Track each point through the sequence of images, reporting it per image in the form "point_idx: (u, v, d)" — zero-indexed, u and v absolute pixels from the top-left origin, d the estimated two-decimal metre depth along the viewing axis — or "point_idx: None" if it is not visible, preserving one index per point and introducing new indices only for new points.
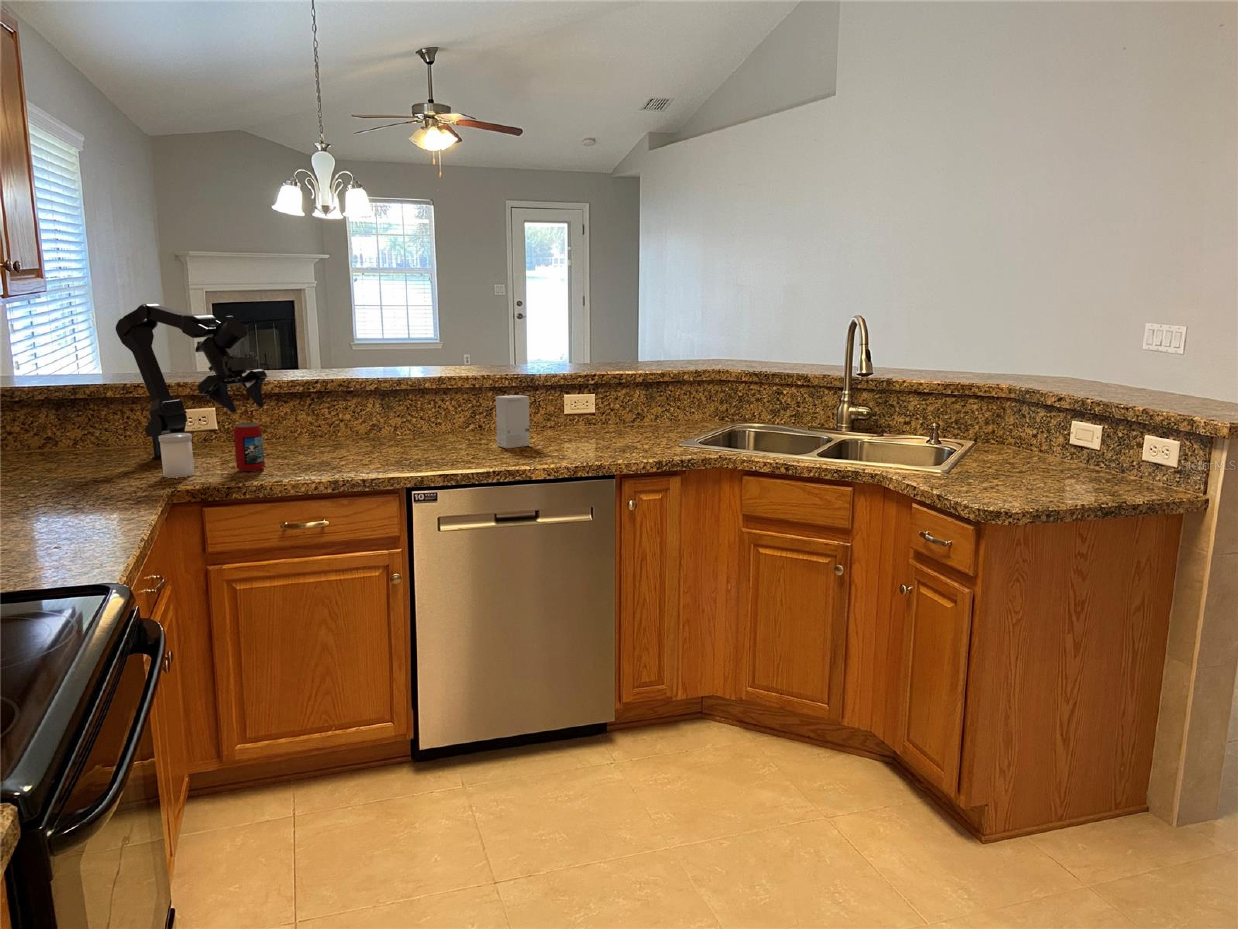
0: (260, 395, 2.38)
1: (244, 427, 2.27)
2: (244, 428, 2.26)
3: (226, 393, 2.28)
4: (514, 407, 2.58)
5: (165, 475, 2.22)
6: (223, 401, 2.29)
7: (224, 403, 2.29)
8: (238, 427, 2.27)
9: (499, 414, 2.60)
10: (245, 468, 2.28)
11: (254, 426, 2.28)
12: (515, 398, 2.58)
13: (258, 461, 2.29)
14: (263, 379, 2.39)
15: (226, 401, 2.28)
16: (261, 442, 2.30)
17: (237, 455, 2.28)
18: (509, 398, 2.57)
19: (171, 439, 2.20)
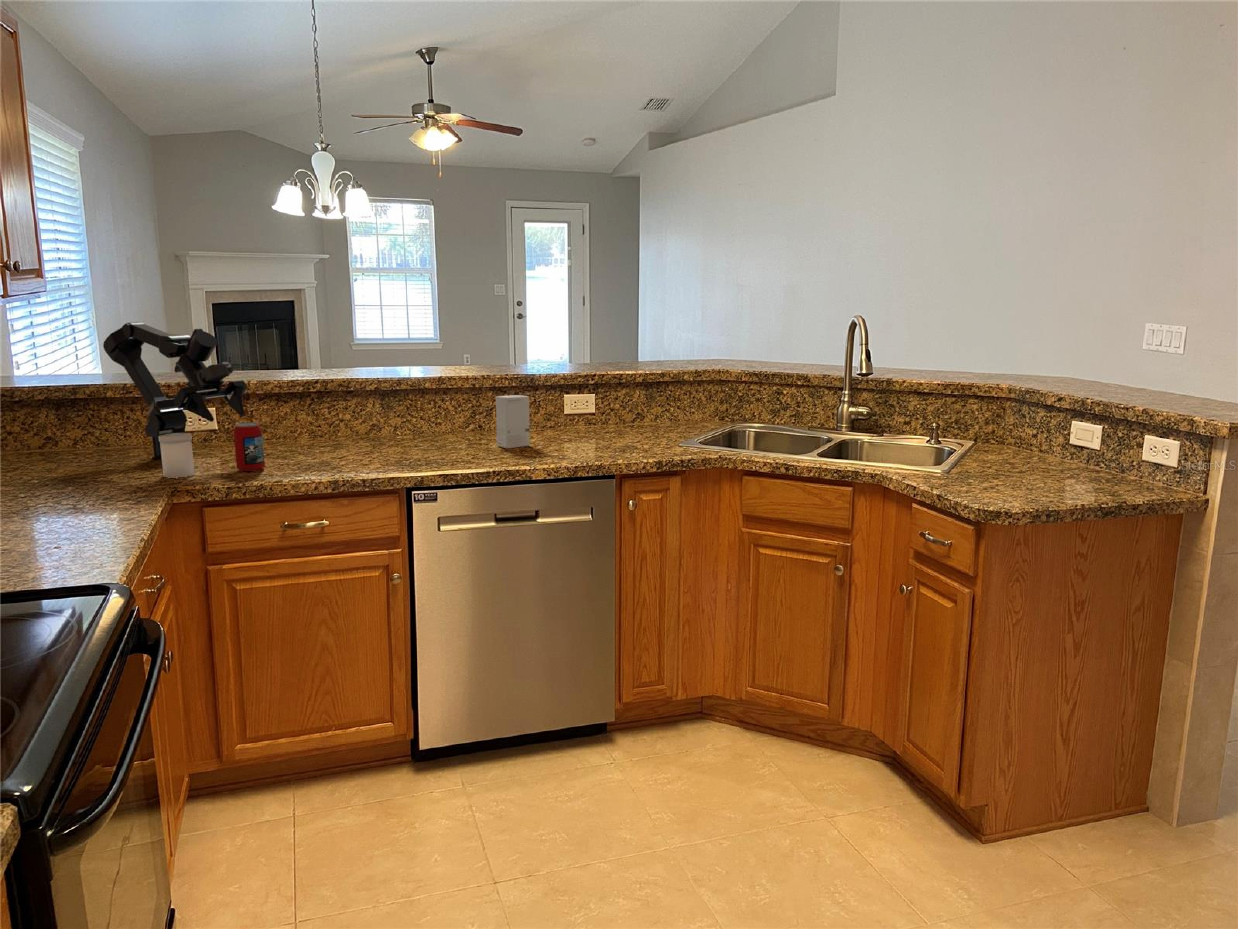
0: (240, 404, 2.37)
1: (244, 427, 2.27)
2: (244, 428, 2.26)
3: (201, 402, 2.28)
4: (514, 407, 2.58)
5: (165, 475, 2.22)
6: (200, 411, 2.28)
7: (201, 413, 2.28)
8: (238, 427, 2.27)
9: (499, 414, 2.60)
10: (245, 468, 2.28)
11: (254, 426, 2.28)
12: (515, 398, 2.58)
13: (258, 461, 2.29)
14: (242, 388, 2.38)
15: (202, 410, 2.28)
16: (261, 442, 2.30)
17: (237, 455, 2.28)
18: (509, 398, 2.57)
19: (171, 439, 2.20)
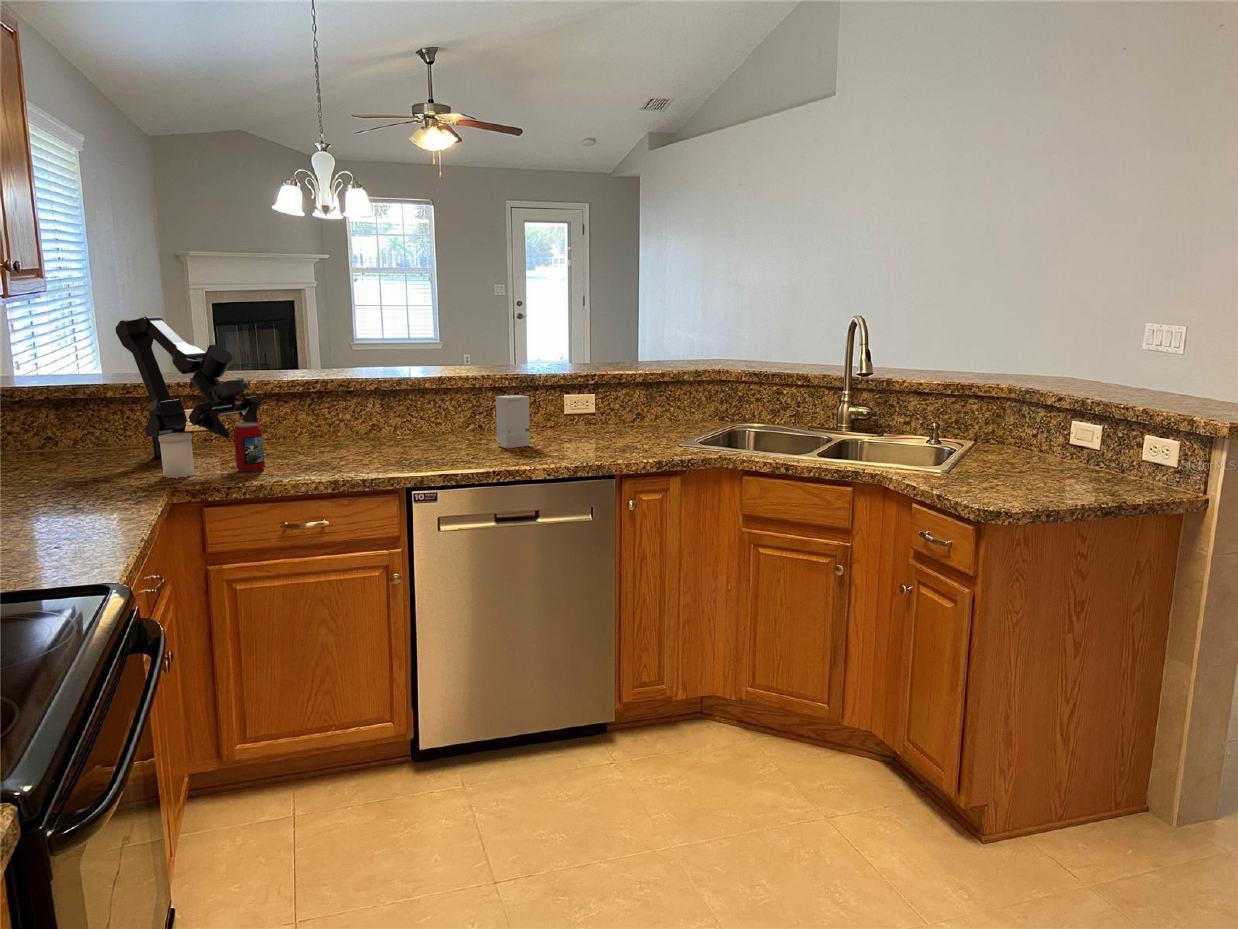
0: (255, 420, 2.35)
1: (244, 427, 2.27)
2: (244, 428, 2.26)
3: (217, 419, 2.26)
4: (514, 407, 2.58)
5: (165, 475, 2.22)
6: (215, 428, 2.27)
7: (216, 430, 2.27)
8: (238, 427, 2.27)
9: (499, 414, 2.60)
10: (245, 468, 2.28)
11: (254, 426, 2.28)
12: (515, 398, 2.58)
13: (258, 461, 2.29)
14: (257, 404, 2.36)
15: (218, 427, 2.26)
16: (261, 442, 2.30)
17: (237, 455, 2.28)
18: (509, 398, 2.57)
19: (171, 439, 2.20)
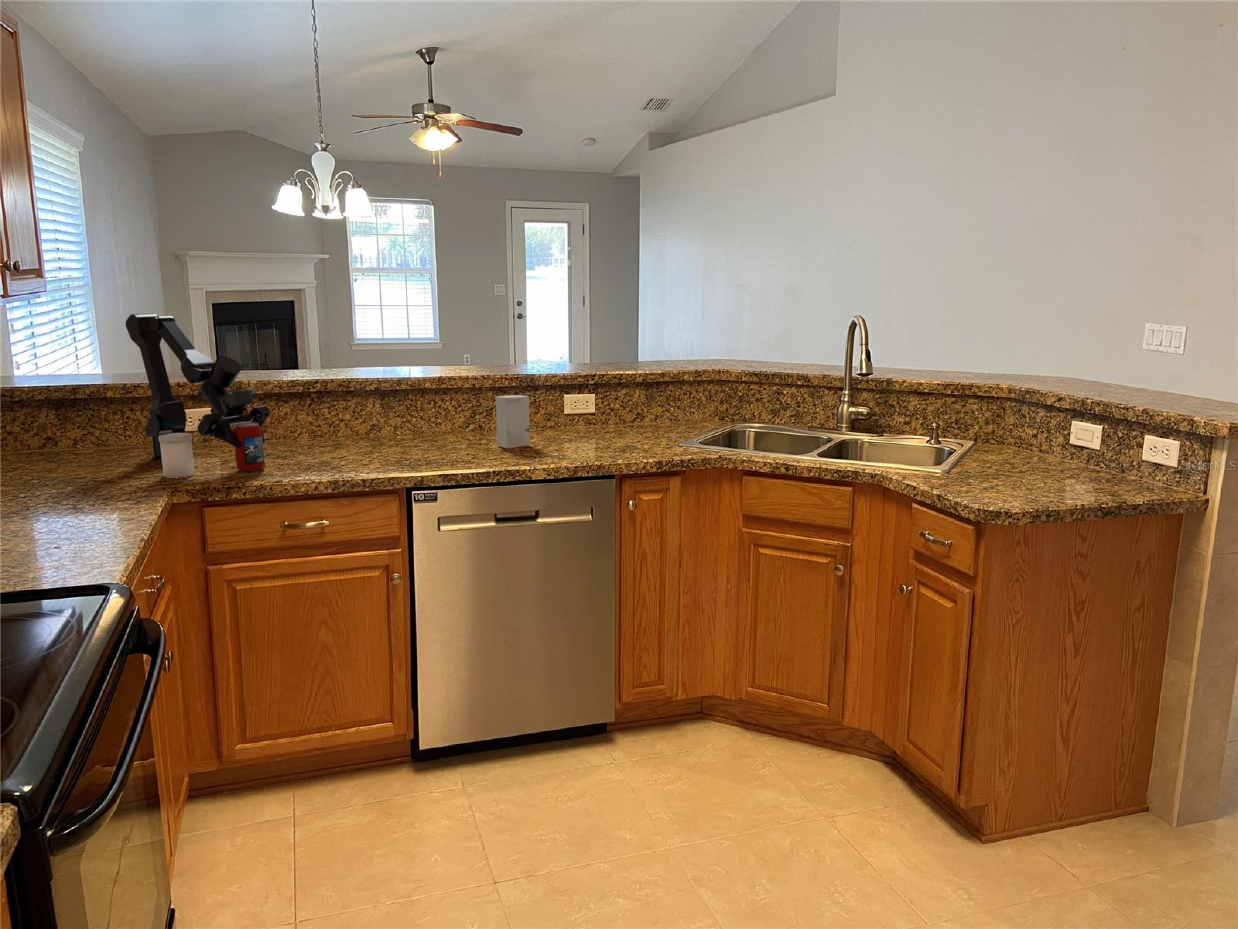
0: None
1: (244, 427, 2.27)
2: (244, 428, 2.26)
3: (229, 429, 2.26)
4: (514, 407, 2.58)
5: (165, 475, 2.22)
6: (228, 438, 2.27)
7: (229, 440, 2.27)
8: (238, 427, 2.27)
9: (499, 414, 2.60)
10: (245, 468, 2.28)
11: (254, 426, 2.28)
12: (515, 398, 2.58)
13: (258, 461, 2.29)
14: (262, 415, 2.34)
15: (230, 437, 2.26)
16: (261, 442, 2.30)
17: (237, 455, 2.28)
18: (509, 398, 2.57)
19: (171, 439, 2.20)
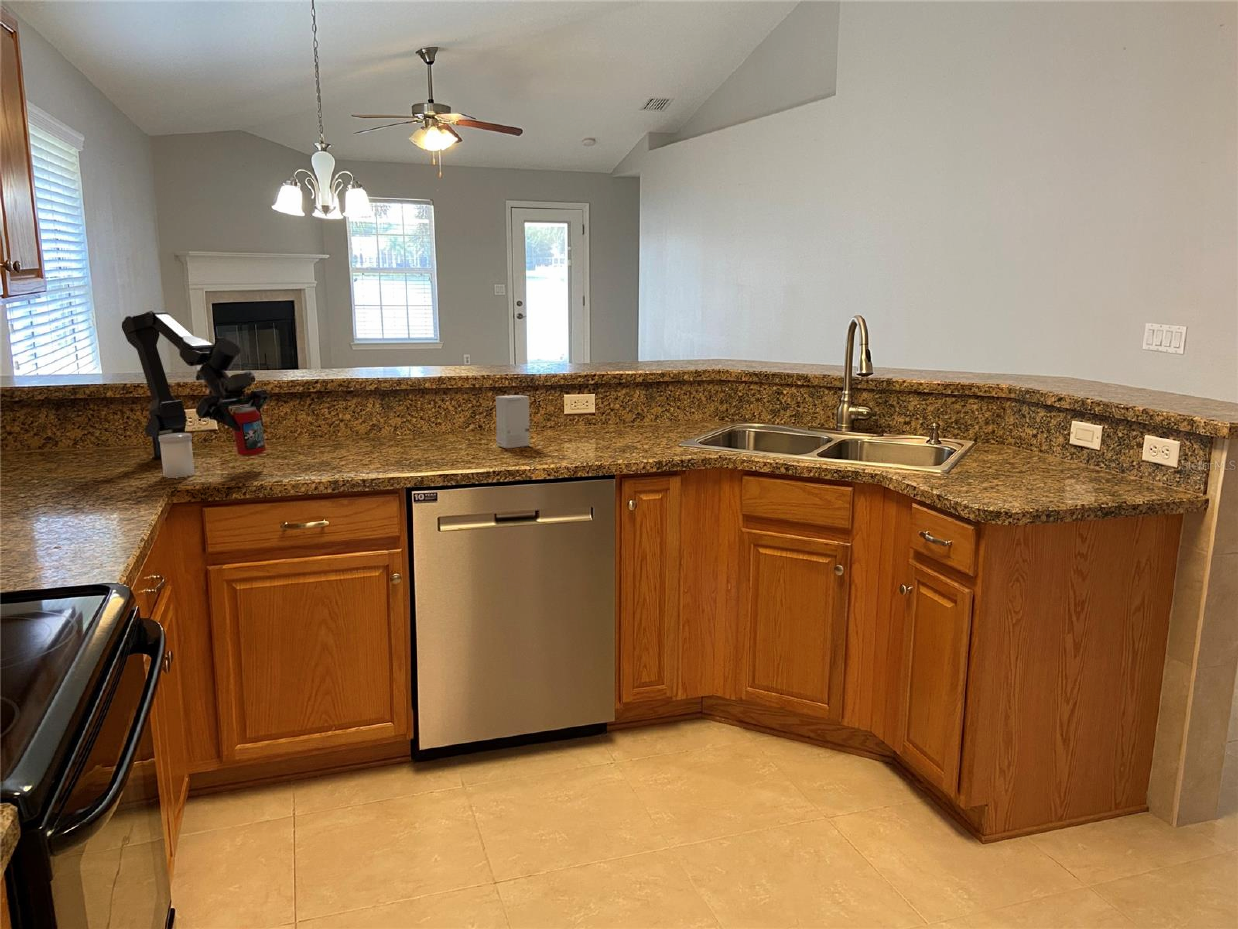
0: None
1: (242, 413, 2.26)
2: (242, 414, 2.26)
3: (228, 412, 2.25)
4: (514, 407, 2.58)
5: (165, 475, 2.22)
6: (226, 421, 2.26)
7: (227, 423, 2.26)
8: (236, 413, 2.26)
9: (499, 414, 2.60)
10: (246, 453, 2.28)
11: (252, 411, 2.27)
12: (515, 398, 2.58)
13: (258, 445, 2.29)
14: (261, 398, 2.34)
15: (228, 420, 2.25)
16: (260, 426, 2.29)
17: (237, 441, 2.28)
18: (509, 398, 2.57)
19: (171, 439, 2.20)
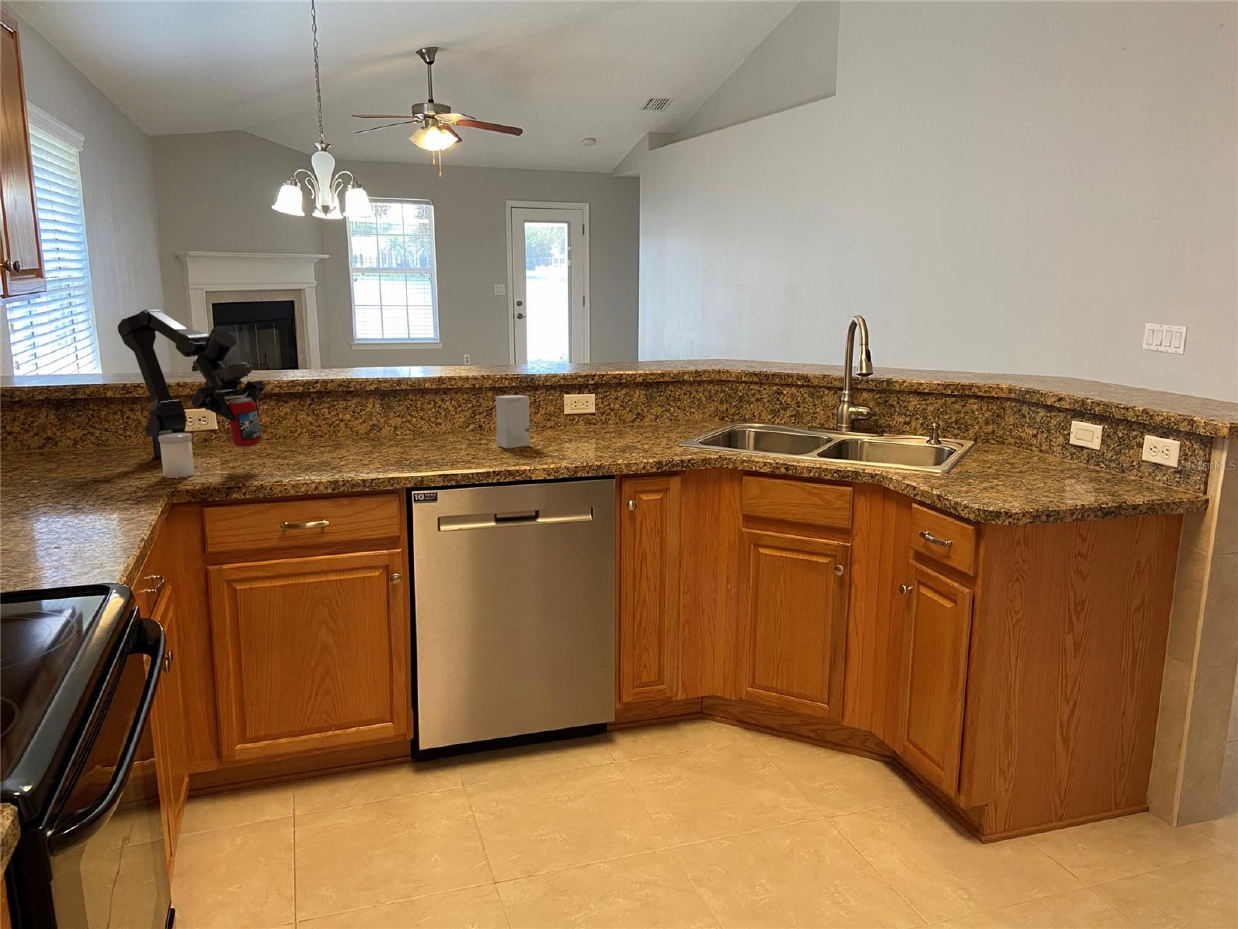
0: None
1: (237, 403, 2.26)
2: (238, 404, 2.26)
3: (224, 402, 2.25)
4: (514, 407, 2.58)
5: (165, 475, 2.22)
6: (222, 411, 2.26)
7: (223, 413, 2.26)
8: (231, 403, 2.26)
9: (499, 414, 2.60)
10: (242, 444, 2.28)
11: (247, 401, 2.27)
12: (515, 398, 2.58)
13: (254, 436, 2.29)
14: (257, 389, 2.34)
15: (224, 411, 2.25)
16: (256, 417, 2.29)
17: (233, 431, 2.28)
18: (509, 398, 2.57)
19: (171, 439, 2.20)
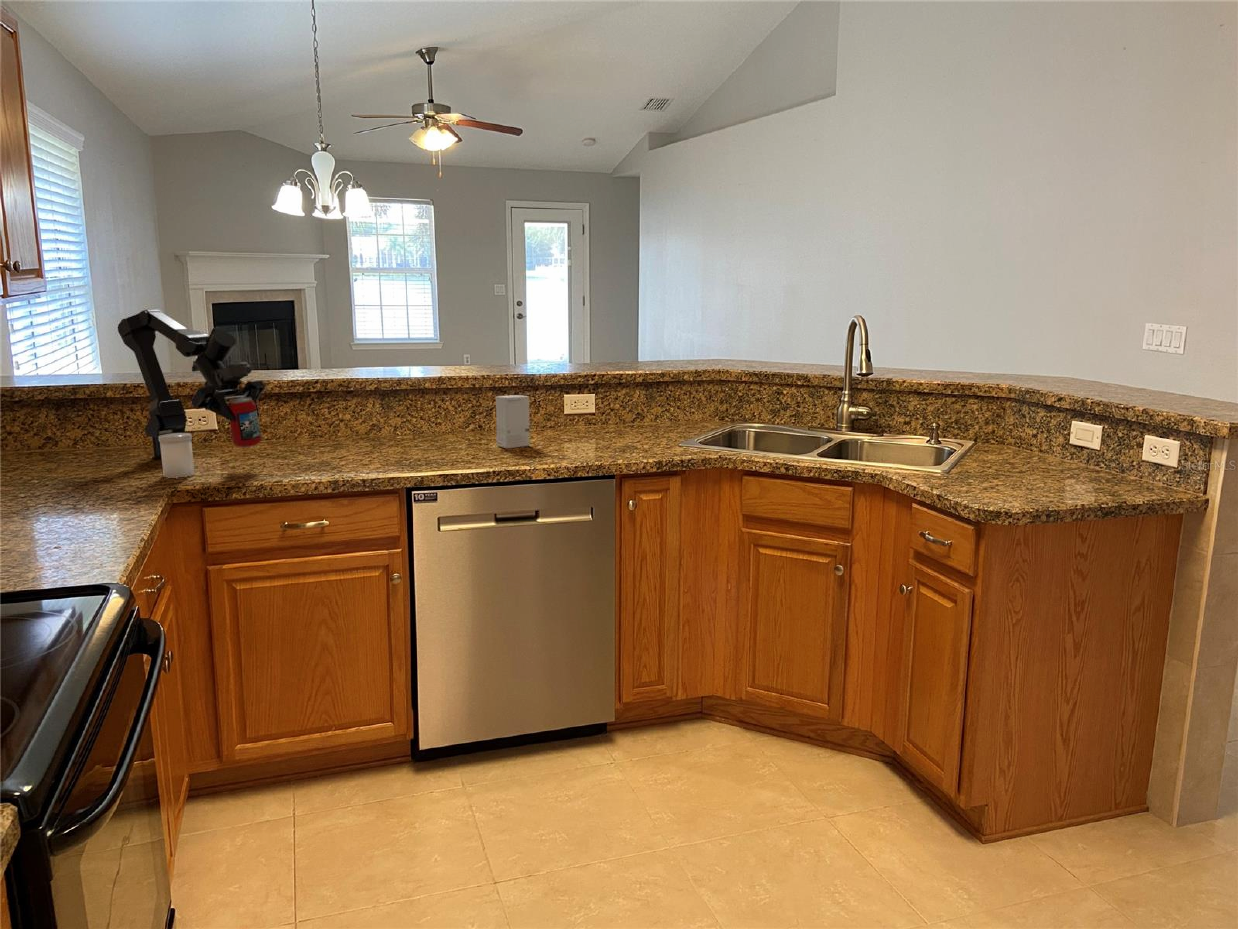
0: None
1: (237, 403, 2.26)
2: (238, 404, 2.26)
3: (224, 402, 2.25)
4: (514, 407, 2.58)
5: (165, 475, 2.22)
6: (222, 411, 2.26)
7: (223, 413, 2.26)
8: (231, 403, 2.26)
9: (499, 414, 2.60)
10: (242, 444, 2.28)
11: (247, 401, 2.27)
12: (515, 398, 2.58)
13: (254, 436, 2.29)
14: (257, 389, 2.34)
15: (224, 411, 2.25)
16: (256, 417, 2.29)
17: (233, 431, 2.28)
18: (509, 398, 2.57)
19: (171, 439, 2.20)
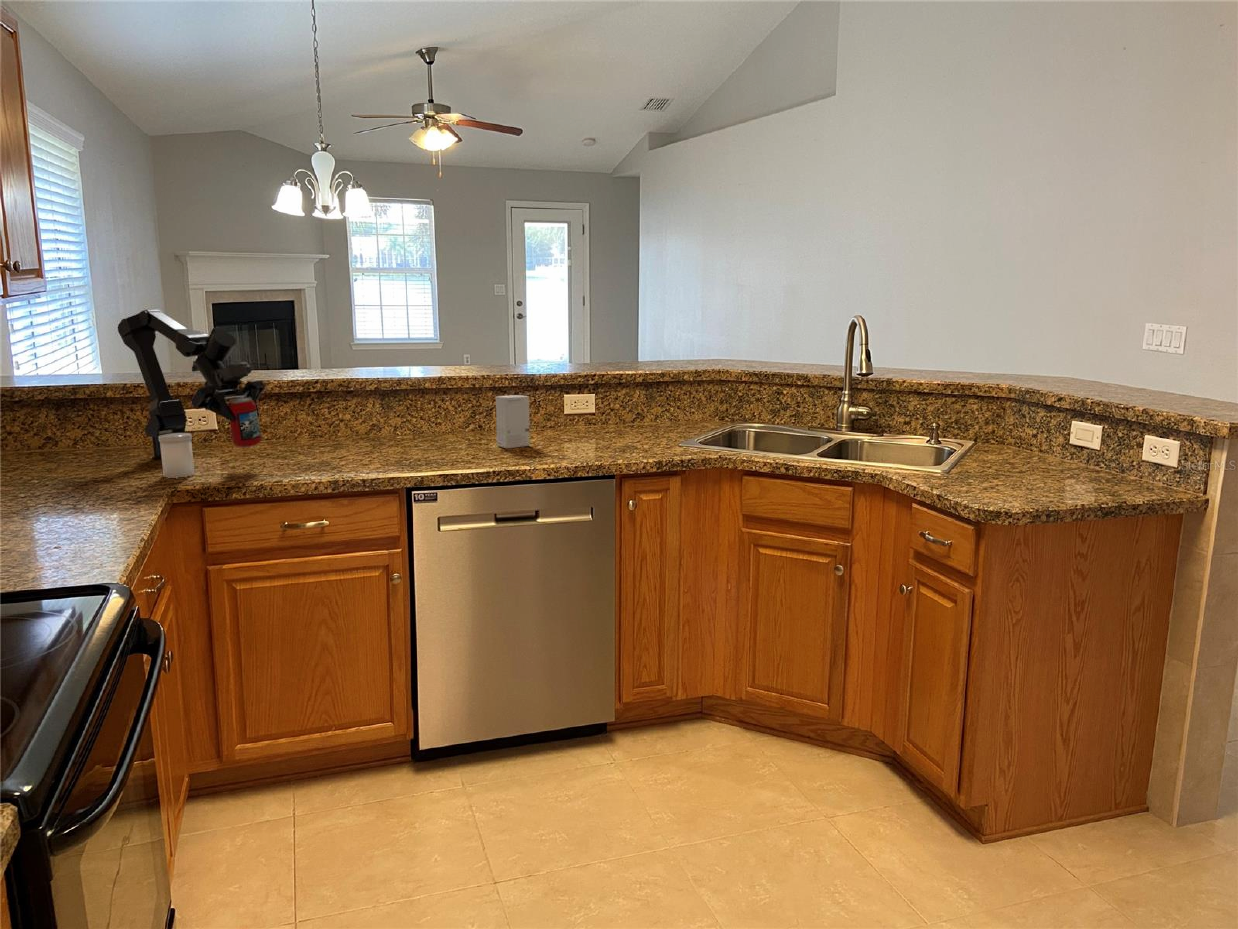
0: None
1: (237, 403, 2.26)
2: (238, 404, 2.26)
3: (224, 402, 2.25)
4: (514, 407, 2.58)
5: (165, 475, 2.22)
6: (222, 411, 2.26)
7: (223, 413, 2.26)
8: (231, 403, 2.26)
9: (499, 414, 2.60)
10: (242, 444, 2.28)
11: (247, 401, 2.27)
12: (515, 398, 2.58)
13: (254, 436, 2.29)
14: (257, 389, 2.34)
15: (224, 411, 2.25)
16: (256, 417, 2.29)
17: (233, 431, 2.28)
18: (509, 398, 2.57)
19: (171, 439, 2.20)
